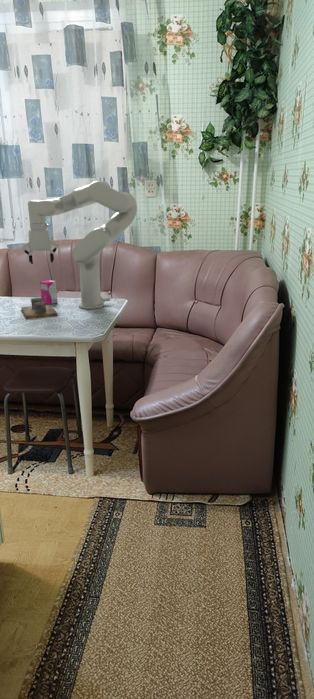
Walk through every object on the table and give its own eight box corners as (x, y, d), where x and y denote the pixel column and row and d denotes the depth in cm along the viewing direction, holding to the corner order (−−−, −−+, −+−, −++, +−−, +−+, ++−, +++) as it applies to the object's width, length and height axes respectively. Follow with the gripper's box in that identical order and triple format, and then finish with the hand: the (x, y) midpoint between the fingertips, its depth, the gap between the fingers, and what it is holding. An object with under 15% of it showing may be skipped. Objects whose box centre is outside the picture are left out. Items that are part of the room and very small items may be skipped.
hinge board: (50, 307, 251) (49, 294, 249) (57, 316, 235) (56, 302, 233) (21, 310, 246) (20, 297, 244) (26, 319, 230) (25, 305, 228)
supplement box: (50, 301, 262) (48, 279, 258) (58, 303, 259) (56, 280, 255) (41, 304, 257) (39, 281, 254) (49, 305, 254) (47, 282, 250)
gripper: (55, 225, 250) (58, 260, 255) (19, 227, 244) (22, 263, 250) (57, 226, 243) (60, 262, 248) (20, 228, 238) (24, 265, 243)
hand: (41, 262), depth 249 cm, fingers open, 9 cm apart
